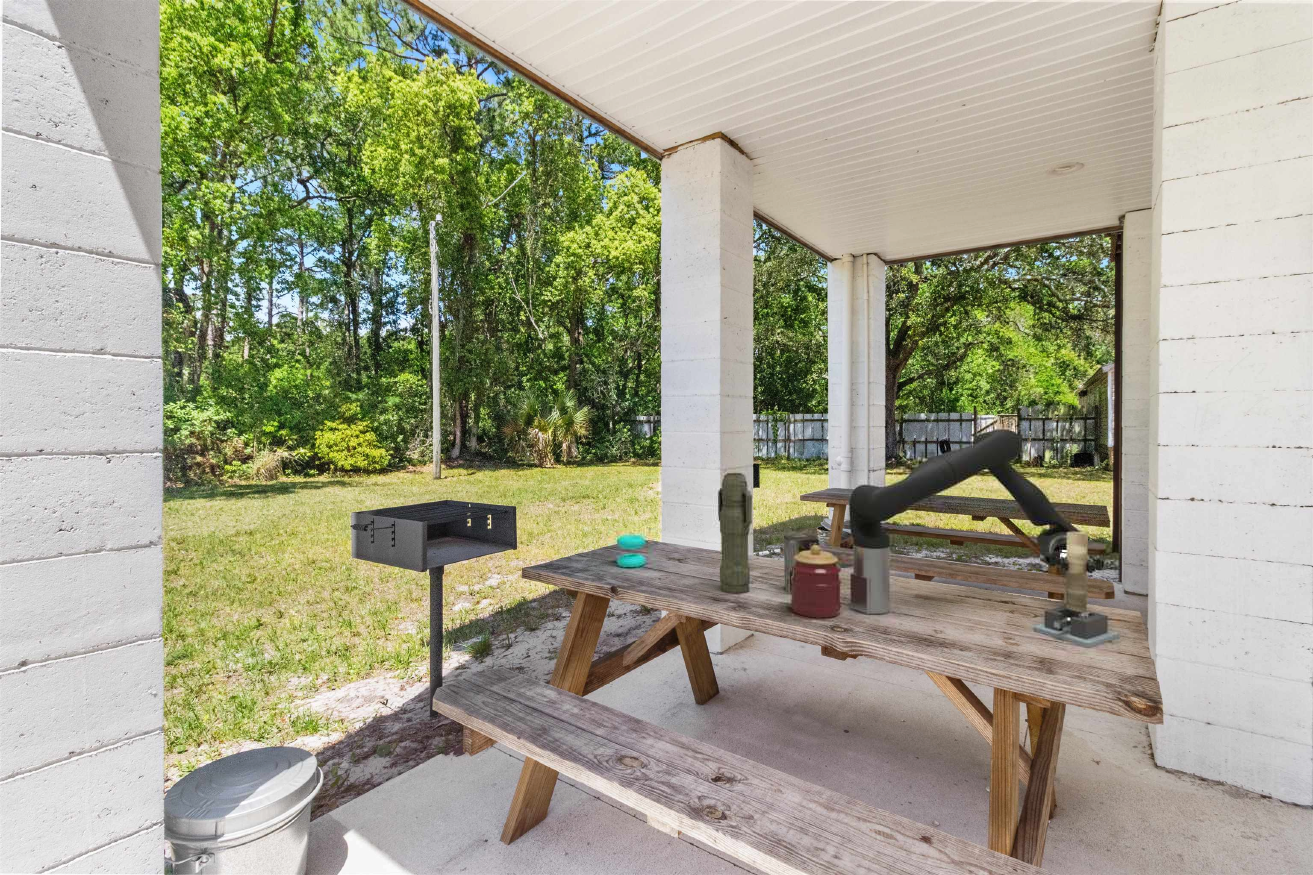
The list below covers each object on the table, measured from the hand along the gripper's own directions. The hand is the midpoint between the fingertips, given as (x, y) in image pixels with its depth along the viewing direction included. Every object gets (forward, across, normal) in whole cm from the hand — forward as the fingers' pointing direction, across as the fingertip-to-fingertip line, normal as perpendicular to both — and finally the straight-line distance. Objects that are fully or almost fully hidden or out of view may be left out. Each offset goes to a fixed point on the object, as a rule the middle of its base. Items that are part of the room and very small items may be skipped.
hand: (1078, 567), depth 137 cm
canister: (+8, -59, +16) cm, 61 cm away
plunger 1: (+1, -3, +14) cm, 14 cm away
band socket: (-3, 0, +16) cm, 17 cm away
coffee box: (-9, -67, +16) cm, 69 cm away
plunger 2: (-6, +3, +14) cm, 16 cm away
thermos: (-1, -84, +16) cm, 86 cm away
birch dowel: (-3, 0, +10) cm, 11 cm away
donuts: (-12, -128, +16) cm, 129 cm away
